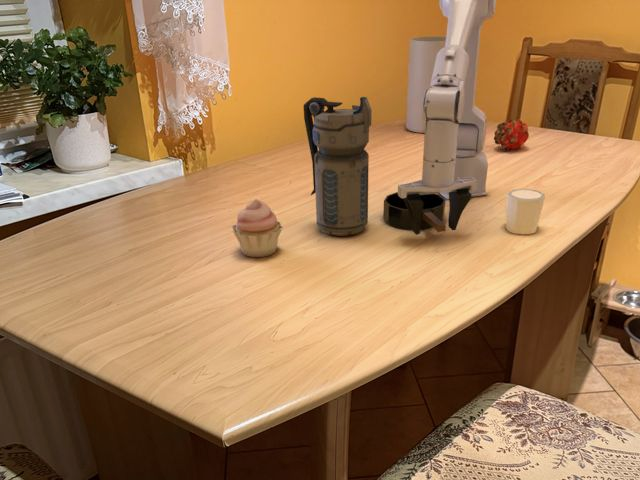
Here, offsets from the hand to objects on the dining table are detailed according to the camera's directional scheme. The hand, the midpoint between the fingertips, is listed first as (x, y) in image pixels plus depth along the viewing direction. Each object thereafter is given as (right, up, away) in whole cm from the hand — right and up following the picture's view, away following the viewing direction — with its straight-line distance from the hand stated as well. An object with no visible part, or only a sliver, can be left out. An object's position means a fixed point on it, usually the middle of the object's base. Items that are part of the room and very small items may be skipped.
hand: (434, 230), depth 120 cm
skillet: (-1, +2, +6) cm, 7 cm away
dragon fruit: (+30, +32, +53) cm, 69 cm away
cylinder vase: (+11, +45, +75) cm, 88 cm away
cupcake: (-33, -4, -2) cm, 33 cm away
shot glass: (+18, +1, +4) cm, 18 cm away
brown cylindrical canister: (-18, +2, +7) cm, 19 cm away
